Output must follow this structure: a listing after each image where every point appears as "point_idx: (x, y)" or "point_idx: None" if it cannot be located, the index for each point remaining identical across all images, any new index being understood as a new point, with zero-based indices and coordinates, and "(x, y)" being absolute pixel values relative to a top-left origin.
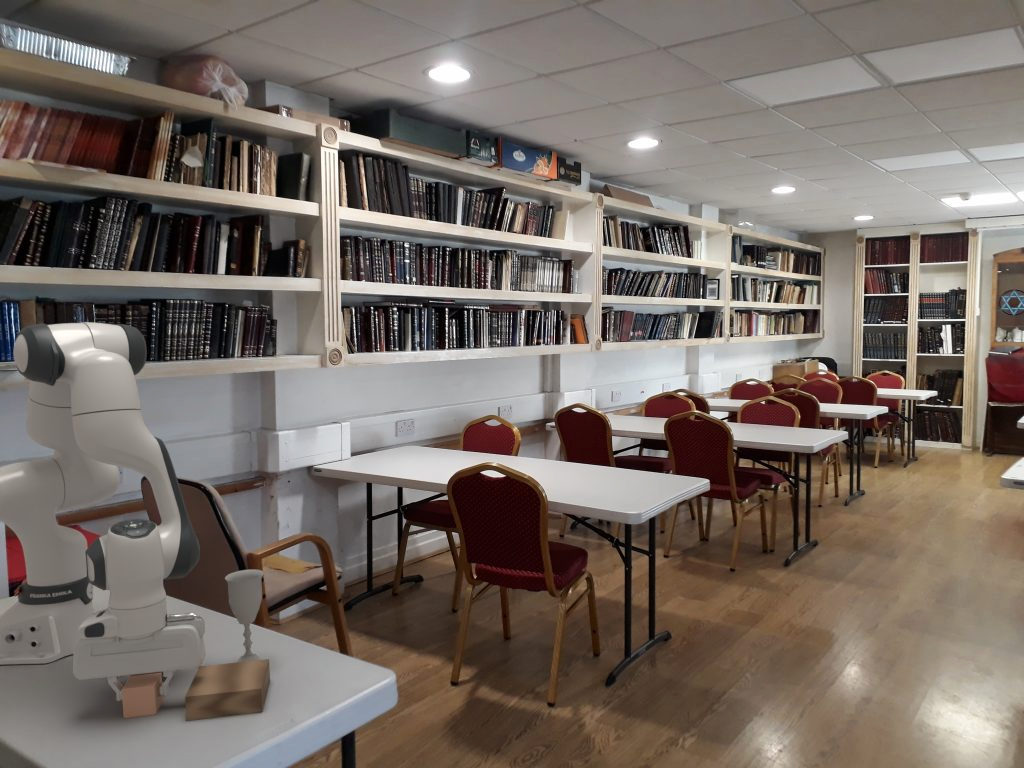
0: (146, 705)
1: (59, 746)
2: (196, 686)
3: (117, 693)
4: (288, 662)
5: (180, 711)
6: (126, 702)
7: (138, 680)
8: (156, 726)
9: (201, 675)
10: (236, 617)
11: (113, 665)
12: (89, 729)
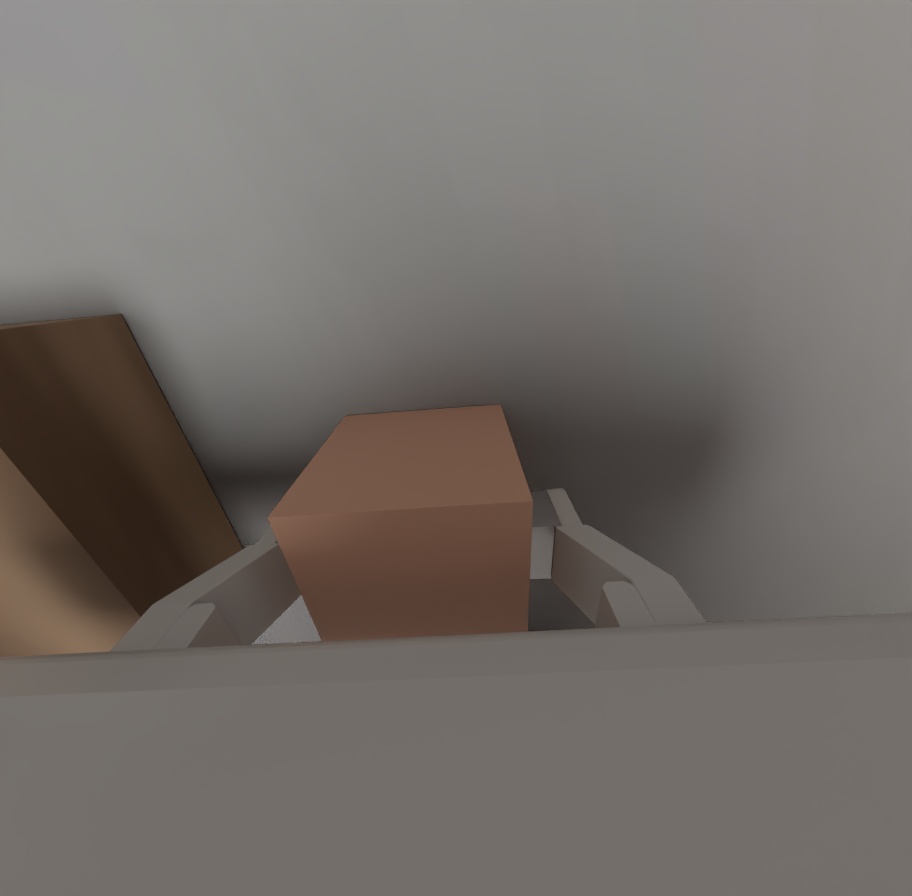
0: (376, 437)
1: (847, 52)
2: (4, 511)
3: (569, 515)
4: None
5: (232, 428)
6: (490, 443)
7: (446, 604)
8: (267, 269)
9: (112, 630)
10: None
11: (765, 820)
12: (659, 303)
